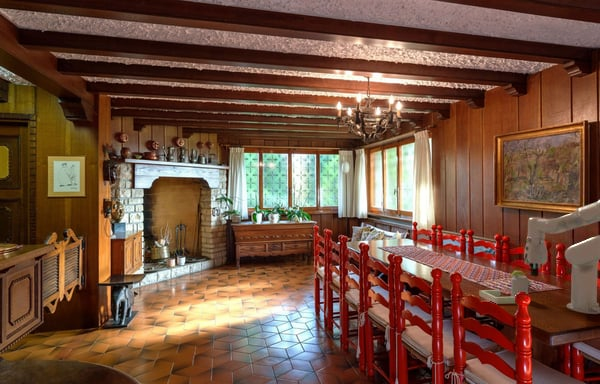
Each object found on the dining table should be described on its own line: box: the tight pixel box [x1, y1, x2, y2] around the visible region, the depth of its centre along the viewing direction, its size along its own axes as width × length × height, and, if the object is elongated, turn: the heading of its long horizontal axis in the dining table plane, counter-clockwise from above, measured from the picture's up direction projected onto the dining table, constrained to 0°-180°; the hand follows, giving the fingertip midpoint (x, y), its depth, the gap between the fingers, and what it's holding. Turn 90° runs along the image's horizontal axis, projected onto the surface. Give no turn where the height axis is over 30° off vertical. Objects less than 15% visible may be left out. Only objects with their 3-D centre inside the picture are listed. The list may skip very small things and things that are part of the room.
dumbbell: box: [510, 270, 530, 286], centre depth 212 cm, size 16×8×7 cm, turn 155°
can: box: [510, 275, 529, 297], centre depth 185 cm, size 8×8×12 cm
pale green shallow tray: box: [478, 289, 516, 305], centre depth 184 cm, size 13×11×3 cm
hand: (534, 275), depth 186 cm, fingers closed
